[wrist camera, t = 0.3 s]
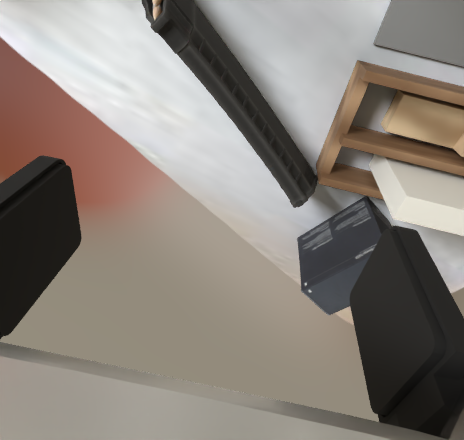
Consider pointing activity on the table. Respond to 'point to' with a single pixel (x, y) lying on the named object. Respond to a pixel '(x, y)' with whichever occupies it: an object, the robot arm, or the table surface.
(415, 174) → the cream rectangular panel
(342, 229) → the small box
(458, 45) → the mat
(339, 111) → the rack
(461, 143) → the offcut short
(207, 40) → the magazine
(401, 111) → the offcut long
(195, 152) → the table surface
